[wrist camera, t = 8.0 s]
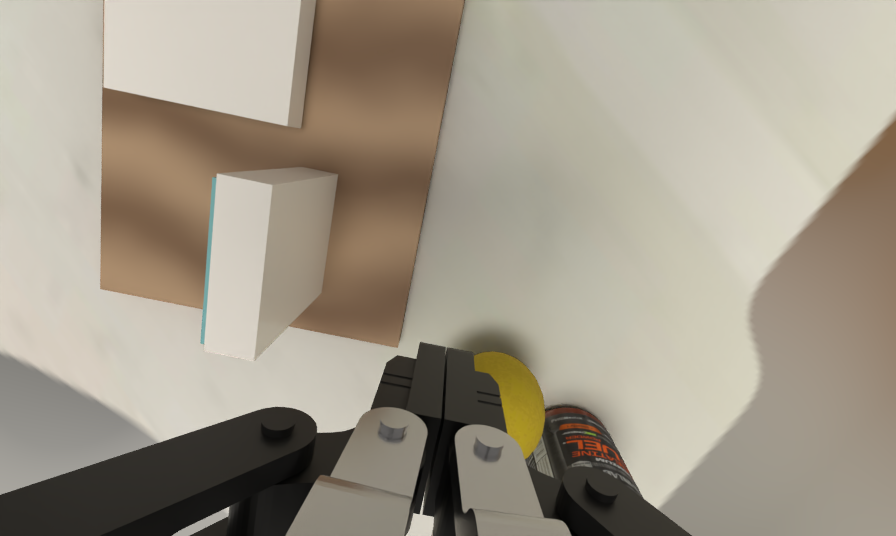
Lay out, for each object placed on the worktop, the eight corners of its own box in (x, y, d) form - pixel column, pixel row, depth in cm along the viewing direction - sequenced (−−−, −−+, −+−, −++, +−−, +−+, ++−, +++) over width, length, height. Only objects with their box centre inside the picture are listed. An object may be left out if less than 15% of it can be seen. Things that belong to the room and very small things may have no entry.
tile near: (297, 165, 25) (209, 171, 16) (338, 174, 25) (272, 185, 16) (283, 285, 26) (197, 350, 18) (321, 292, 26) (254, 361, 18)
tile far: (319, -15, 22) (140, -55, 22) (304, -33, 20) (105, -78, 20) (302, 128, 24) (135, 93, 24) (287, 126, 22) (103, 87, 22)
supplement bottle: (619, 412, 29) (717, 567, 18) (593, 487, 31) (668, 673, 20) (531, 394, 29) (576, 539, 18) (508, 470, 30) (537, 647, 20)
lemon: (428, 374, 29) (417, 455, 21) (486, 314, 28) (497, 376, 20) (491, 425, 30) (502, 521, 22) (549, 368, 29) (584, 448, 21)
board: (122, -84, 23) (104, -97, 22) (466, -8, 23) (466, -17, 22) (115, 283, 28) (100, 288, 27) (399, 339, 28) (397, 347, 27)
